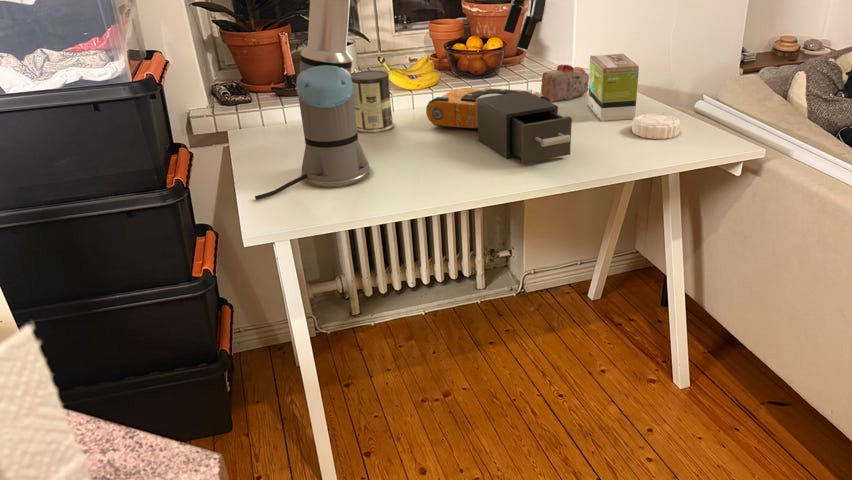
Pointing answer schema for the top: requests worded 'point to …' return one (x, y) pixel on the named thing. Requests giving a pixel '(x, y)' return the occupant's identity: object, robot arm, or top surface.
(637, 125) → the mooncake
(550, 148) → the drawer
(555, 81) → the food item
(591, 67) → the tea box
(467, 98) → the device
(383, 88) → the coffee can
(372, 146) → the top surface
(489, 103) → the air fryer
